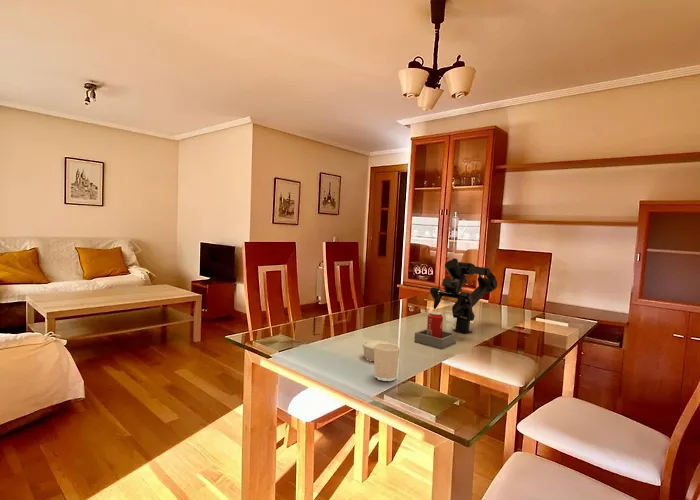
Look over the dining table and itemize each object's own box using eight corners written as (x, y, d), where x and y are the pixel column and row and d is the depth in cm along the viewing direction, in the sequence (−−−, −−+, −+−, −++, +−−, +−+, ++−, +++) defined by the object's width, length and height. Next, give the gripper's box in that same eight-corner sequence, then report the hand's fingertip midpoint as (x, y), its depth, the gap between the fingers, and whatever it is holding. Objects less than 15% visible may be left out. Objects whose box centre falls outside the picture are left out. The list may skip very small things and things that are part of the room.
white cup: (371, 373, 121) (372, 342, 121) (395, 373, 122) (396, 343, 121) (374, 383, 113) (376, 350, 113) (400, 383, 114) (402, 351, 114)
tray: (429, 336, 168) (429, 327, 168) (455, 343, 160) (456, 334, 160) (414, 342, 159) (415, 332, 158) (441, 349, 150) (442, 339, 150)
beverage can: (444, 342, 158) (446, 314, 157) (431, 343, 156) (432, 314, 155) (436, 338, 164) (438, 311, 163) (423, 338, 162) (425, 311, 161)
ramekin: (362, 352, 141) (362, 338, 141) (391, 354, 141) (392, 340, 141) (362, 363, 130) (362, 348, 130) (394, 365, 130) (395, 350, 130)
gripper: (432, 269, 174) (419, 295, 167) (471, 274, 162) (458, 302, 155) (439, 285, 181) (426, 310, 173) (477, 290, 169) (465, 318, 161)
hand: (443, 310), depth 165 cm, fingers open, 9 cm apart
